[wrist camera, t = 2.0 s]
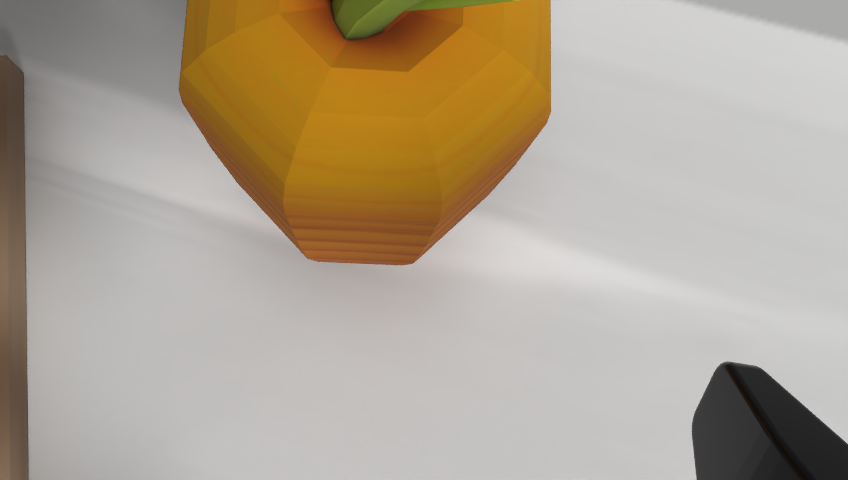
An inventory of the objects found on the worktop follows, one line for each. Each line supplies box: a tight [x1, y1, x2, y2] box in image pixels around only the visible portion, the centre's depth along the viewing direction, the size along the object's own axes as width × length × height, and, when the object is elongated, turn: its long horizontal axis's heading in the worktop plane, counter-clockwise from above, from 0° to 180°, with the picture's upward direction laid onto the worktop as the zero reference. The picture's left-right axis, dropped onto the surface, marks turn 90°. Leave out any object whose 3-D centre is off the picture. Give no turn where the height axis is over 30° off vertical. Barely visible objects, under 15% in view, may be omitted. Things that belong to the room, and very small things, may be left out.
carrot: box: [179, 0, 551, 265], centre depth 13 cm, size 5×5×15 cm
